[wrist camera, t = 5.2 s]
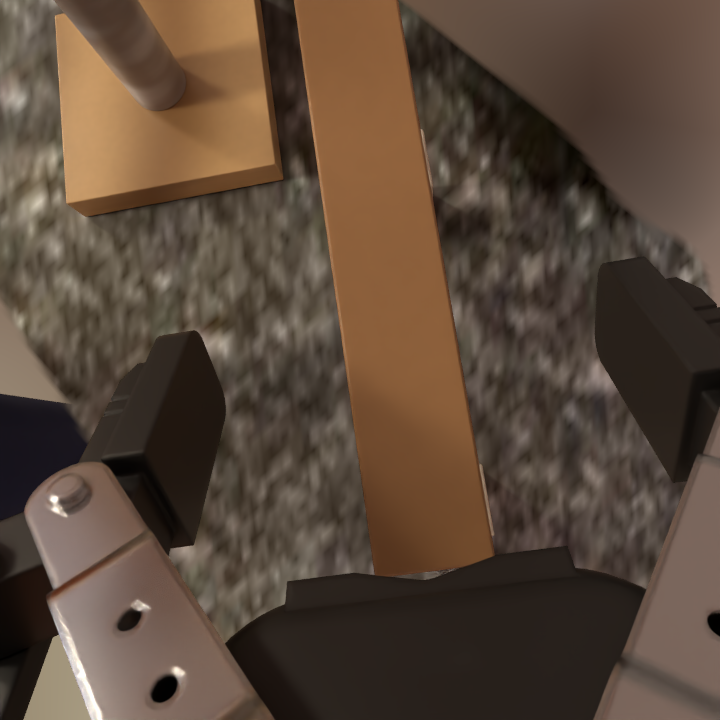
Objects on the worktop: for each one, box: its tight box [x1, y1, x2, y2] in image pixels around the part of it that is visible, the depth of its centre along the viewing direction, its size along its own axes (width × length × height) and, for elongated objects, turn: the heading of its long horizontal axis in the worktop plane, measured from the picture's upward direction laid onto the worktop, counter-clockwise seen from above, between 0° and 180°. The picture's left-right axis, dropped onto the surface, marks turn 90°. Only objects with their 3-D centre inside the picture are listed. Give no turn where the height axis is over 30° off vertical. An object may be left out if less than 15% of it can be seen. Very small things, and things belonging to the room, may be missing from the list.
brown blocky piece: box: [294, 0, 495, 577], centre depth 20 cm, size 4×15×14 cm, turn 8°
